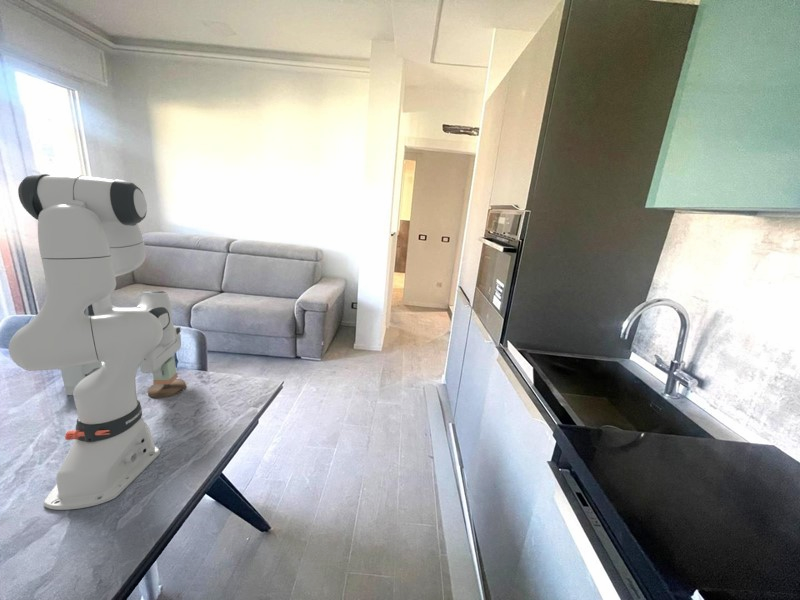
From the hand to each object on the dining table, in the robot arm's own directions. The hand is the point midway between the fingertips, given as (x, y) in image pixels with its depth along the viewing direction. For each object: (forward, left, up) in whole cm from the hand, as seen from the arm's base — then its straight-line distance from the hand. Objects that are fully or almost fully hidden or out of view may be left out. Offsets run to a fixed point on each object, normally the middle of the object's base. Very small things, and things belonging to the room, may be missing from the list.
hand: (164, 371), depth 113 cm
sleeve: (0, 0, -4) cm, 4 cm away
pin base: (0, 0, -7) cm, 7 cm away
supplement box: (+2, +26, -7) cm, 27 cm away
